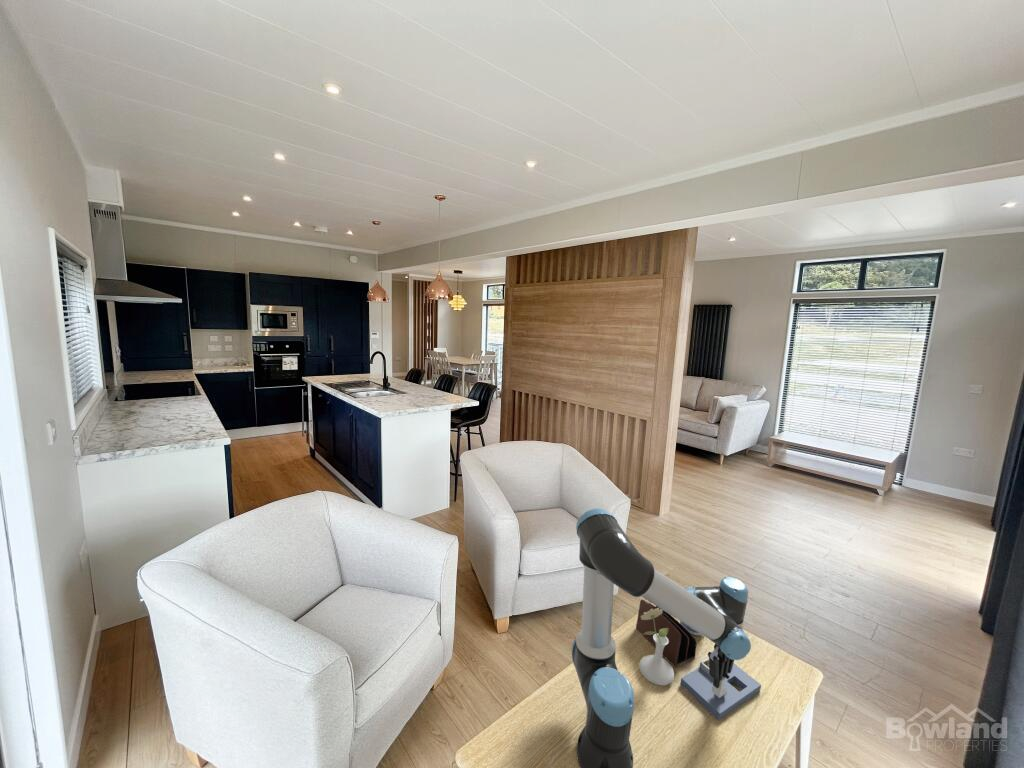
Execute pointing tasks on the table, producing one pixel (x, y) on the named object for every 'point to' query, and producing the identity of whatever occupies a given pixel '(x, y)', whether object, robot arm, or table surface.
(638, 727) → the table surface
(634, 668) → the table surface
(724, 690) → the steel ball
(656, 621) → the letter holder
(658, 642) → the flower in vase
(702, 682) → the deck
